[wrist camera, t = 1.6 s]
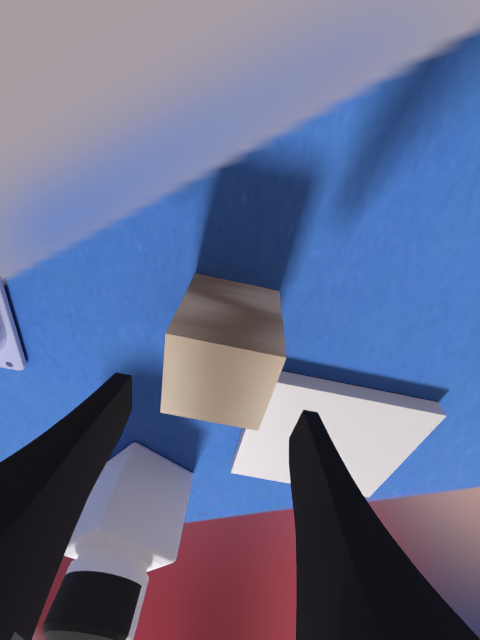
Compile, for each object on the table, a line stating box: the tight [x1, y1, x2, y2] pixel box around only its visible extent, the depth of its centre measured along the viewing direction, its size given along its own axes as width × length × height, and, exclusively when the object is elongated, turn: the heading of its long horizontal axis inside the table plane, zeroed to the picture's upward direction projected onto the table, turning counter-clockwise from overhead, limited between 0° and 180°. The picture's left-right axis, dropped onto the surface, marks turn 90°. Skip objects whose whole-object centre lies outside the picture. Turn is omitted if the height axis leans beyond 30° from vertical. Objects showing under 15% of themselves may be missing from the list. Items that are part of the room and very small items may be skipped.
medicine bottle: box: [42, 442, 193, 640], centre depth 23 cm, size 7×7×12 cm
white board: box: [231, 371, 446, 498], centre depth 23 cm, size 13×12×1 cm
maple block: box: [160, 273, 286, 431], centre depth 15 cm, size 5×5×6 cm
